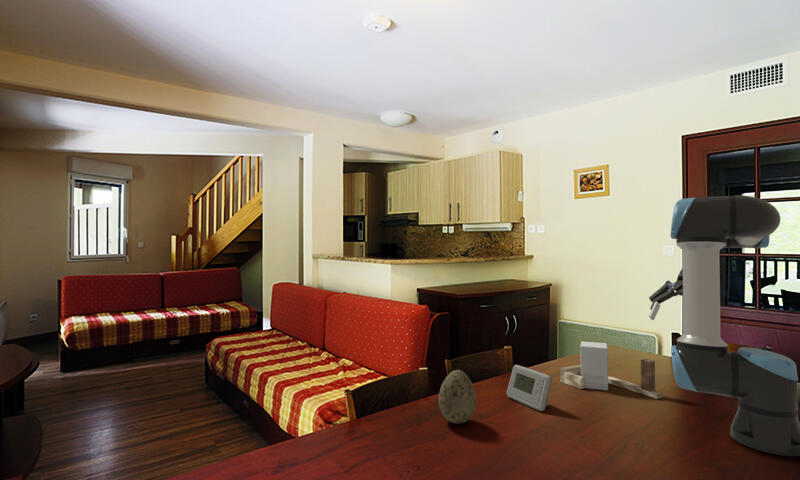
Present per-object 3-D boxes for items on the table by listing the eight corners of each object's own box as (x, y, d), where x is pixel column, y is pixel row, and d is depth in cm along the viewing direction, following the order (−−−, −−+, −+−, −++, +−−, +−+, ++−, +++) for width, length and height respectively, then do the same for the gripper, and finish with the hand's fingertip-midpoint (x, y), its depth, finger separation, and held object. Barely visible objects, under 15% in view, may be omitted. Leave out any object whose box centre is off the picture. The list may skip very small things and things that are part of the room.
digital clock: (504, 396, 147) (504, 364, 147) (527, 393, 149) (527, 362, 149) (532, 414, 131) (532, 379, 131) (557, 411, 134) (557, 376, 134)
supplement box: (608, 383, 159) (607, 342, 159) (608, 391, 151) (608, 348, 151) (581, 380, 163) (580, 340, 163) (580, 387, 155) (579, 345, 155)
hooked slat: (662, 397, 144) (662, 362, 144) (627, 406, 137) (627, 369, 137) (592, 375, 169) (592, 345, 169) (559, 381, 161) (559, 350, 161)
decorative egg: (482, 420, 127) (482, 368, 127) (466, 433, 118) (466, 378, 118) (449, 412, 133) (449, 363, 133) (431, 424, 124) (431, 371, 124)
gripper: (735, 284, 150) (714, 335, 144) (661, 276, 171) (640, 320, 165) (728, 271, 147) (705, 323, 141) (653, 264, 168) (631, 309, 162)
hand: (670, 322), depth 153 cm, fingers open, 13 cm apart
